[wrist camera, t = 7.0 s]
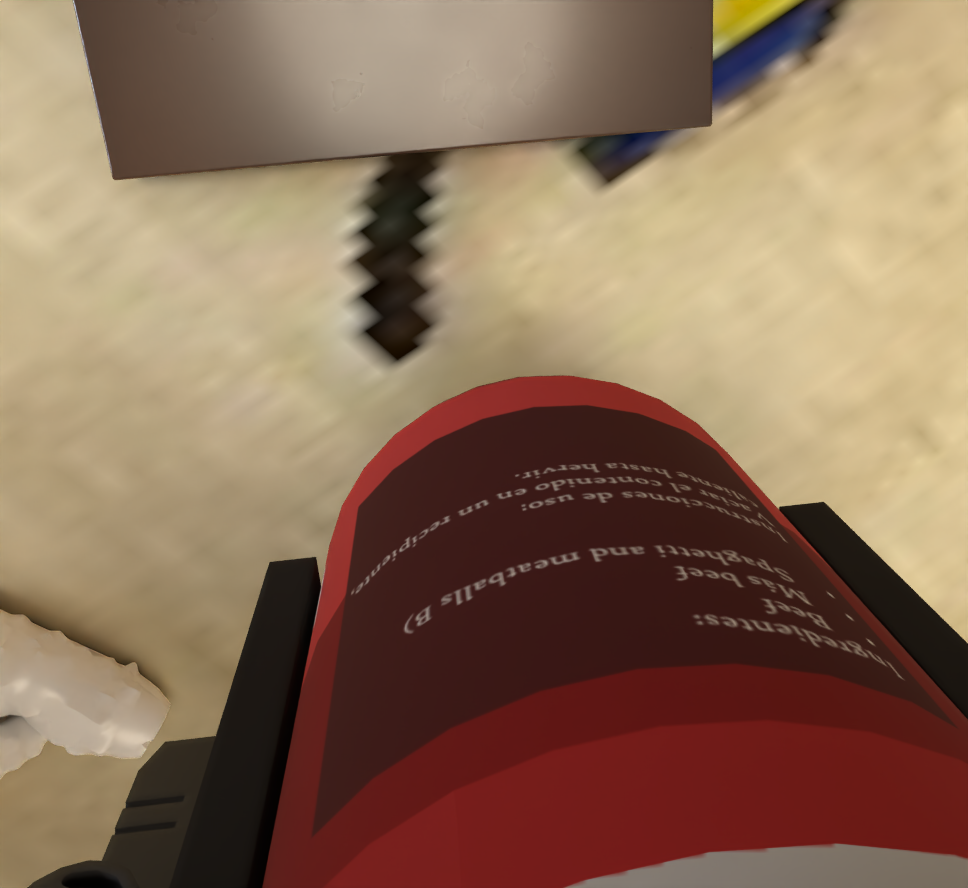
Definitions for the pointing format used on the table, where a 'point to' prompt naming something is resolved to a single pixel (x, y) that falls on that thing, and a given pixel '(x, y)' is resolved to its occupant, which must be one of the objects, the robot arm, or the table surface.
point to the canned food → (601, 673)
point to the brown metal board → (383, 76)
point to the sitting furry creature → (70, 698)
